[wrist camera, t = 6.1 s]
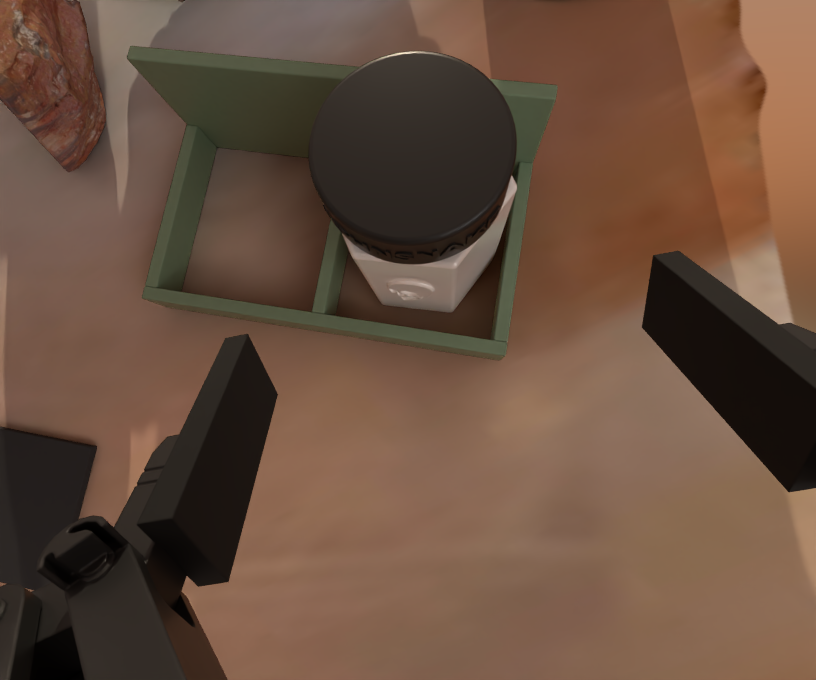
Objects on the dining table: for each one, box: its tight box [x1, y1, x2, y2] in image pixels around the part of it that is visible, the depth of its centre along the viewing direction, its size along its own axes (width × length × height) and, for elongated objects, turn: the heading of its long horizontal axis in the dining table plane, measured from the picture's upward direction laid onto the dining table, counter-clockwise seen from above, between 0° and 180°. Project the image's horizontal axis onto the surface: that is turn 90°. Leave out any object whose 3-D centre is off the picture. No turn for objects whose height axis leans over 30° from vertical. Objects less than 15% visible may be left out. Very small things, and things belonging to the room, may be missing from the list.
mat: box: [0, 427, 97, 590], centre depth 28 cm, size 9×9×1 cm
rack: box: [127, 46, 558, 360], centre depth 25 cm, size 22×13×8 cm, turn 80°
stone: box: [0, 0, 106, 172], centre depth 27 cm, size 13×8×10 cm
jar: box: [308, 51, 517, 313], centre depth 23 cm, size 9×8×12 cm
